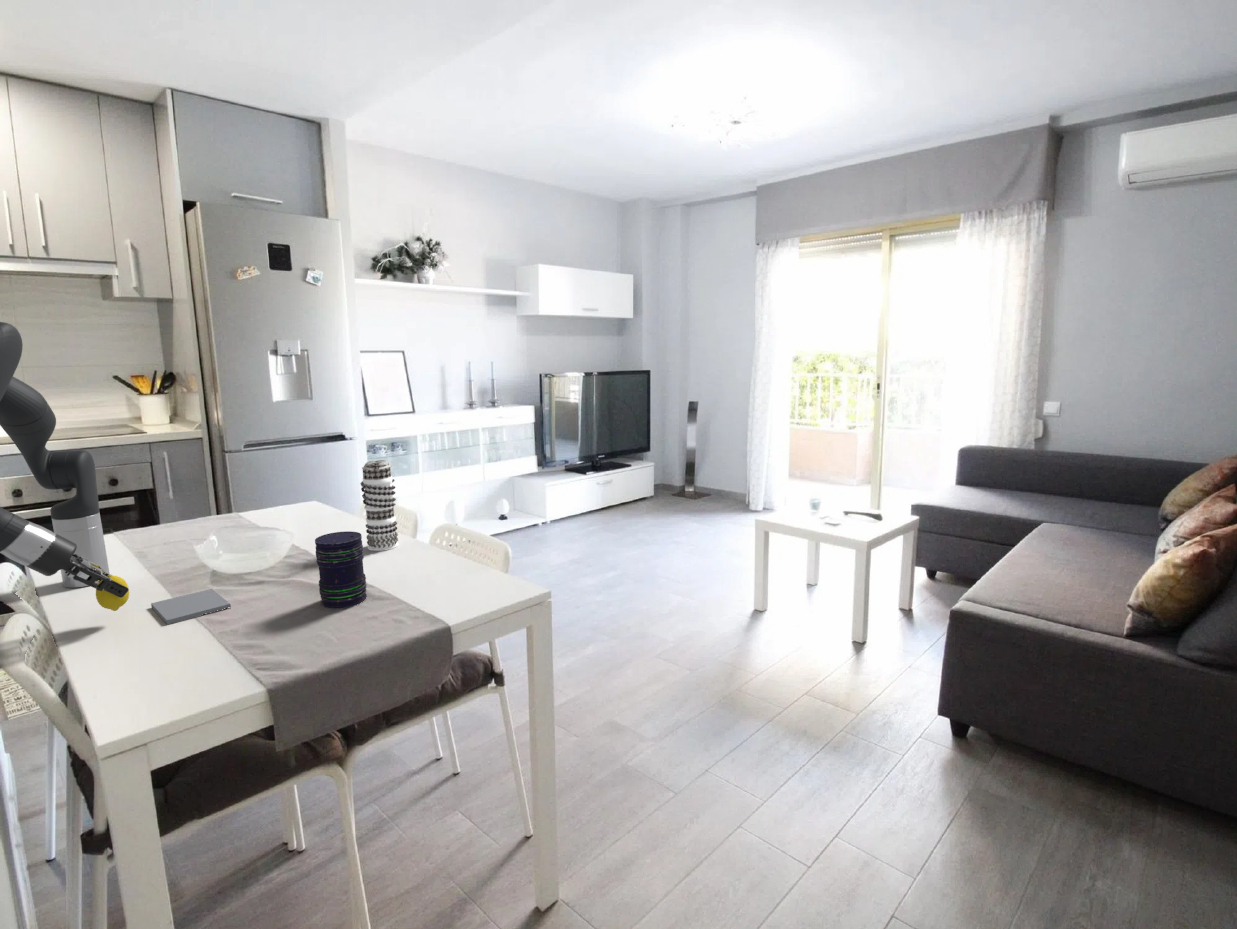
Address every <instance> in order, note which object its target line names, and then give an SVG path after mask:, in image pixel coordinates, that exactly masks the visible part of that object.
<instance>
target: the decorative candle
mask: <svg viewBox="0 0 1237 929" xmlns="http://www.w3.org/2000/svg"><path fill="white" fill-rule="evenodd" d="M391 467H392V464H391V465H390V464H389V462H388V461H387V460H383V459H382V460H381V459H378V460H370V461H367V462H365V463H364V466H362V467H361V469H362V481H361V482H360V484H359V485H360V486H361V492H362V495H361V496H362V499H363V500H362V504H364V505H365V506H364V508H363V509H364V510H365V512H366V515H365V516H366V518H365V521H366V522H365V523H366V524H365V528H366V530H365V532H366V533H367V535H366V537H365V538H366V540H367V541H366V543H367V545H368V546H367V550H369V551H375V552H381V551H389V550H392V549H395V548H398V546H399V543H398V542H399V537H398V535H399V534H398V532H397V530H398V526H397V525H398V522H397V521H396V515H395V510H394V508H395V507H396V505H397V504H396V503H395V501H396V498H395V497H393V496H394V495H396V491H395V489H396V486H395V485H393V484H392V483H394V482H395V479H393V475H392V470H391Z"/></svg>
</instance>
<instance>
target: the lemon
mask: <svg viewBox="0 0 1237 929" xmlns="http://www.w3.org/2000/svg"><path fill="white" fill-rule="evenodd" d="M107 577H108V578H111V579H112V580H113V581H115V582H117V583H119V584H121V585H123V586H125V587H127V588H128V589H129V586H128V583H127V581H126V580H125V579H124V578H123V577H121V576H118V575H113V574H110V575H108V576H107ZM102 581H103V580H101V581H100V582H99V583H98V584H100V583H101V582H102ZM129 597H130V589H129V590H128V592H127V593H126V594H125V595H124V596H123V597H118V596H116V595H114V594H112V593H110V592H108V591H105V590H102V591H99V590H97V589H95V599H96V600H97V602H98V604H99V605H100V607H102V608H104V609H107V610H110V611H113V612H115V611H118V610H119V609H120V608H121V607H122V606H124V605H125V604H126V603H127V602H128V600H129Z"/></svg>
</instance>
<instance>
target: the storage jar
mask: <svg viewBox="0 0 1237 929" xmlns="http://www.w3.org/2000/svg"><path fill="white" fill-rule="evenodd" d="M314 544H315V558H316V564H317V566H318V572H319V580H318V587H319V588H318V591H319V595H320V599H321V601H320V603H321V606H322V607H323V608H325V609H328V608H330V609H331V610H338V609H339V610H340V609H341V608H342V609H348V608H352V607H355V606H354V605H356V606H358V605H360V603H361V602H362V603H364V602H365V601H366V600H367V599H366V597H367V596H368V595H367V580H366V579H367V577H366V574H365V573H364V572H365V571H364V563H363V562H364V561H363V560H364V557H365V554H364V544H363V540H362V533H360V532H358V531H349V530H348V531H337V532H330V533H326V534H322V535H319V536H318V537H316V538H315V539H314ZM367 598H368V597H367ZM365 599H366V600H365ZM364 600H365V601H364ZM363 601H364V602H363ZM362 603H361V604H362ZM357 604H358V605H357ZM347 607H348V608H347Z"/></svg>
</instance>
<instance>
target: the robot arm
mask: <svg viewBox="0 0 1237 929" xmlns="http://www.w3.org/2000/svg"><path fill="white" fill-rule="evenodd" d="M23 344H24V343H23V338H22V336H21V333H20V331H19V330H18V329H17V328H16V326H13V324H11V323H8V322H2V321H0V427H1V428H2V430H3V431H4V432H5V433H6V434H7V436H8V437H9V438H10V440H11V441H12V442H13V443H14V445H15V446H16V447H17V450H18V451H19V452H20V454H21V455H22V457H23V459H24V460H25V463H26V464H27V467H28V468H29V470H30V472H31V473H32V475H33V477H34V478H35V480H36V482H37V483H38V484H39V486H41V487H42V488H43V489H45V490H51V491H52V490H55V491H56V490H67V489H68V490H69V489H75V490H76V492H75V495H74V496H72V497H71V498H69V499H67V500H64V501H61V502H59V503H56V504H54V505H52V506H51V507H50V518H51V522H52V527H53V531H52V530H50V529H48V528H46V527H44V526H43V525H40V524H36V523H34V522H32V521H30V520H28V519H25V518H23V517H21V516H19V515H17V514H15V513H14V512H12V511H10V510H7V509H4V508H3V507H2V506H0V554H1V555H3V556H4V557H6V558H8V559H10V560H12V561H14V562H16V563H18V564H19V565H22V566H24V567H25V568H28V569H31V570H33V571H35V572H36V573H37V572H38V574H41V575H43V576H46V577H51V576H53V575H56V573H58V572H59V571H60V574H61V580H62V585H63V587H64V588H70V589H72V588H73V589H75V588H84V587H91V588H93V589H95V590H96V589H97V590H99V591H102V590H105V591H108V592H110V593H112V594H114V595H116V596H118V597H123V596H124V595H125V594H126V593H127V592H128V590H129V591H130V589H128V588H129V587H128V588H127V587H125V586H123V585H121V584H119V583H117V582H115V581H113V580H112V579H111V578H108V577H107V576H108V575H111V574H110V568H109V562H108V555H107V549H106V544H105V536H104V531H103V523H102V519H101V514H100V512H101V511H100V506H99V503H100V502H99V494H98V486H97V475H96V466H95V460H94V458H93V455H92V454H91V453H90V452H89V451H88V450H83V449H77V450H76V449H75V450H61V451H60V450H59V451H58V450H57V451H51V450H48V449H47V447H46V445H47V444H48V441H49V440H50V438H51V436H52V435H53V433H54V431H55V429H56V426H57V416H56V414H55V413H54V410H52V407H51V406H50V405H49V403H48V401H47V400H46V398H45V397H44V396H43V395H42V394H41V393H40V392H39V391H38V390H37V389H36V388H34V387H32V386H31V385H29V384H27V383H25V382H24V381H22V380H20V379H19V378H17V377H15V376H14V375H15V373H16V370H17V368H18V366H19V363H20V360H21V357H22V354H23ZM101 580H103V581H102V582H101V583H100V584H98V583H99V582H100V581H101Z"/></svg>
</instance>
